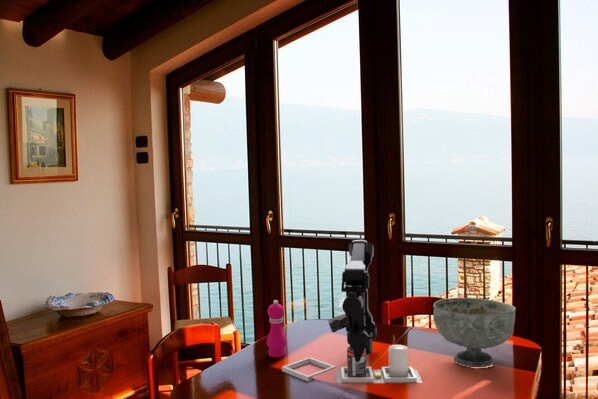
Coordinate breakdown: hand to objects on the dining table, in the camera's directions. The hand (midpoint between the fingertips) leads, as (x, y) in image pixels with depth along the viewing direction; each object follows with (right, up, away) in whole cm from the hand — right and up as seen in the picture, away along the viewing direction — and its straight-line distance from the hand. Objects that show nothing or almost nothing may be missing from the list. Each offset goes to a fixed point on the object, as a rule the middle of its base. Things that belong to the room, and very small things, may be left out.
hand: (356, 356), depth 168 cm
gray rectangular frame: (+7, -7, 0) cm, 10 cm away
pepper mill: (-26, -7, +26) cm, 37 cm away
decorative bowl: (+41, -6, +14) cm, 44 cm away
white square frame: (-15, -7, +9) cm, 19 cm away
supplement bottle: (0, -7, 0) cm, 7 cm away
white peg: (+13, -6, 0) cm, 14 cm away
